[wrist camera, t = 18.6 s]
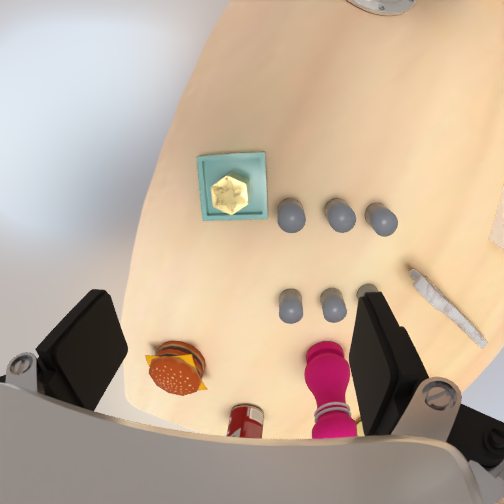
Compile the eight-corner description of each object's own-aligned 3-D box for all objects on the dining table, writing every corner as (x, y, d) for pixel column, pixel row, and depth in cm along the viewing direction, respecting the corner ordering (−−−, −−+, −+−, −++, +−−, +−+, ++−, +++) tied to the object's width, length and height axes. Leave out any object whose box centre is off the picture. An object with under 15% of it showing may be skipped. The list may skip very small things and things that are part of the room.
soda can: (252, 399, 52) (246, 450, 41) (270, 416, 54) (266, 463, 43) (225, 407, 54) (215, 454, 43) (243, 423, 56) (236, 468, 45)
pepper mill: (294, 358, 47) (295, 462, 29) (323, 331, 44) (339, 440, 26) (325, 374, 48) (335, 472, 30) (354, 350, 45) (377, 451, 27)
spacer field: (277, 198, 37) (277, 206, 33) (388, 199, 35) (399, 207, 32) (279, 307, 43) (279, 323, 39) (375, 304, 42) (382, 320, 38)
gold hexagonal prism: (216, 172, 36) (209, 177, 32) (248, 169, 35) (245, 173, 31) (220, 207, 37) (214, 216, 34) (252, 205, 37) (248, 214, 33)
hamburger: (195, 336, 47) (185, 364, 41) (213, 375, 51) (206, 402, 45) (148, 340, 49) (134, 365, 43) (168, 377, 52) (158, 401, 46)
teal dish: (200, 155, 35) (196, 156, 34) (265, 151, 35) (264, 152, 33) (205, 217, 39) (202, 220, 37) (267, 215, 38) (267, 218, 36)
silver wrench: (470, 333, 46) (396, 264, 38) (476, 327, 45) (404, 255, 37) (488, 359, 39) (421, 297, 31) (495, 352, 38) (431, 286, 30)
